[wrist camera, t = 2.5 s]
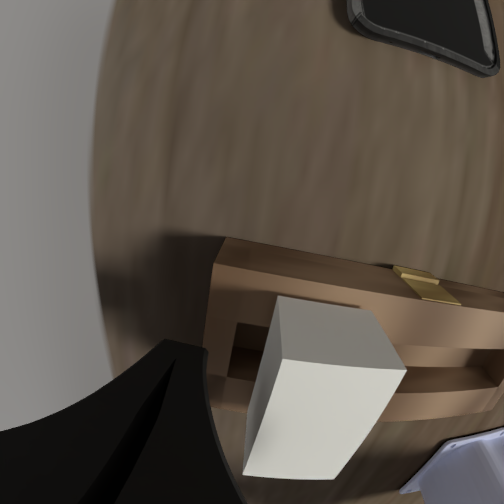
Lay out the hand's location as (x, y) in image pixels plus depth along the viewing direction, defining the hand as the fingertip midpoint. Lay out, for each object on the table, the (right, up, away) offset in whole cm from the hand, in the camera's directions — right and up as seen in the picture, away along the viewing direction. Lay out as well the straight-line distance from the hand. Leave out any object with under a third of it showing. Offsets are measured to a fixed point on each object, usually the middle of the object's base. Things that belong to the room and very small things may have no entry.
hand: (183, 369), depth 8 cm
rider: (+4, 0, +3) cm, 5 cm away
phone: (+10, +19, -1) cm, 22 cm away
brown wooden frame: (+8, 0, +4) cm, 9 cm away
